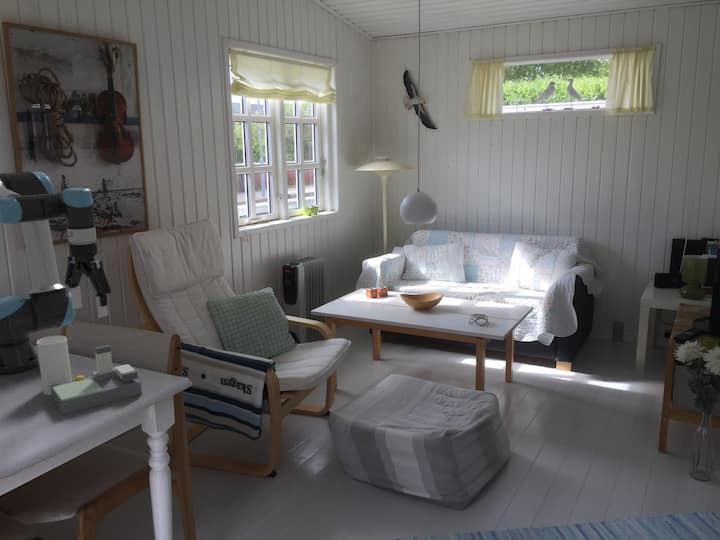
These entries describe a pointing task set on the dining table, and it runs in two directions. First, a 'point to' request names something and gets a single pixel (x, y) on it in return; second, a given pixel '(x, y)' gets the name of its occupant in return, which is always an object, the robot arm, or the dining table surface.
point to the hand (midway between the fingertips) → (90, 312)
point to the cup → (53, 361)
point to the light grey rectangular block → (103, 359)
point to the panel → (96, 389)
